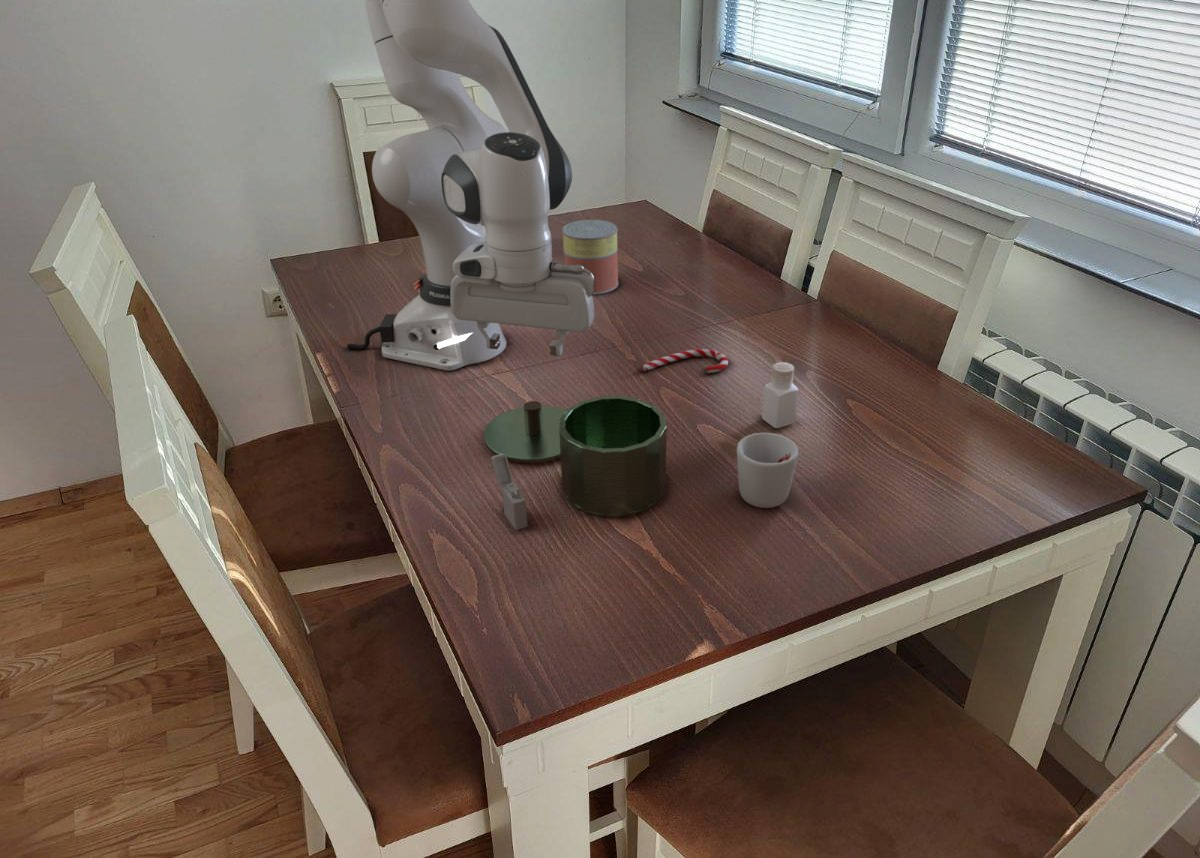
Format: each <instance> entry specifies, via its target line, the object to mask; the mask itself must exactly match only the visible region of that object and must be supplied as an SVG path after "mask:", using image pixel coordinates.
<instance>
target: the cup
mask: <svg viewBox="0 0 1200 858" xmlns="http://www.w3.org/2000/svg"><path fill="white" fill-rule="evenodd" d="M736 445H737V446H736V463H737V464H736V465H737V480H738V491H739V495H740V496H741V498H742V500H743V501H745V502H746V503H747V504H749V505H751V506H753V507H756V508H760V509H772V508H775V507H776V508H777V507H779V506H781V505H782V504H783V503H784V502H785V501H786V500H787V499H788V497H789V495H790V491H791V487H792V484H793V483H792V482H793V478H794V474H795V470H796V466H797V461H798V457H799V449H798V446H797V445H796V443H795V442H794V441H792V439H790V438H788V437H786V436H784V435H782V434H777V433H773V432H756V433H752V434H748V435H745V436H744V437H742V438H741V439H740V440H739V442H738V443H737V444H736Z"/></svg>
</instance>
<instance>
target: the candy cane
mask: <svg viewBox="0 0 1200 858" xmlns="http://www.w3.org/2000/svg"><path fill="white" fill-rule="evenodd" d="M700 357H703V358H704V357H705V358H712V359H715V360H717V361H719V364H715V365H711V366H706V367H705V369H706V370H705V371H706V372H705V373H706V374H715V373H718V372H721V371H723V370H725V369H726V368H727V366H728V364H729V360H728V358H727V356H726V355H725V354H724V353H722V352H719V351H716V350H712V349H703V348H699V349H698V348H696V349H689V350H683V351H679V352H676V353H672V354H668V355H665V356H662V357H660V358H657V359H653V360H652V361H648V362H646V363H644V364H642V365H641V370H642V371H643V372H648V371H651V370H654V369H656V368H659V367H661V366H664V365H667V364H671V363H674V362H678V361H681V360H686V359H691V358H700Z"/></svg>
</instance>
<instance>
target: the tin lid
mask: <svg viewBox="0 0 1200 858" xmlns="http://www.w3.org/2000/svg"><path fill="white" fill-rule="evenodd" d="M566 410H567V409H565V408H562V407H557V406H552V405H542V403H541V402H539V401H536V400H530V401H527V402H525V403H523V406H521V407H516V408H512V409H509V410H507V411H505V412H502V413H500V414H498V415H497V416H495V417H493V418H492V419H491V420H490V421H489V422H488V424H487V425H486V426H485V428H484V431H483V442H484V445H485V447H486V448H487V449H488V451H490V452H491V453H492V454H494V456H495V455H499V454H505V455H506V456H507V460H508V461H511V462H517V463H542V462H548V461H552V460H557V459H561V454H560V437H559V419H560V418H561V416H562V415H563V414H564V413H565V411H566Z"/></svg>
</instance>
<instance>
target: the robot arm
mask: <svg viewBox="0 0 1200 858" xmlns="http://www.w3.org/2000/svg"><path fill="white" fill-rule="evenodd" d="M364 4H365V12H366V14H367V15H366V16H367V21H368V25H369V29H370V34H371V36H372V37H371V38H372V41H373V44H374V47H375V51H376V54H377V58H378V61H379V64H380V68H381V71H382V74H383V78H384V80H385V84H386V87H387V90H388V92H389V93H390V95H391V96H392V98H393V99H394V100H395V101H396V102H398V103H400V104H402V105H404V106H406V107H409V108H412V109H414V110H415V112H417V113H418V114H419V115H420V116H421V118H422V119H423V121H424V122H425V123H426V125H427V127H428V129H425V130H422V131H421V130H420V131H417V132H412V133H409V134H405V135H401V136H399V137H397V138H395V139H393V140H391V141H389V142H388V143H385V144H384V145H382V146H380V147H379V148H378V149H377V150H376V151H375V153H374V155H373V159H372V164H371V175H372V180H373V183H374V186H375V188H376V190H377V193H379V195H380V196H381V197H382V198H383V199H384V201H386V202H387V203H388V204H390V206H393V207H395V208H396V209H398V210H400V211H402V213H404V214H405V215H406V216H407V217H408V218H409V219H410V221H411V222H412V224H413V225H414V228H415V229H416V231H417V234H418V237H419V240H420V244H421V245H420V246H421V249H422V254H423V260H424V261H423V262H424V266H425V269H424V270H423V274H422V275H420V276H419V277H418V279H417V281H416V282H415V283H414V285H413V286H414V291H416V292H417V290H419V293H418V295H416V296H415V297H414V298H413V299H412V300H410V301H408V303H407V304H406V305H405V306H403V307H402V308H401V309H400V310H399V312H397V313H386V314H385V315H384V317H383V319H382V321H381V323H380V325H379V326H378V327H375V328H372V329H371V330H369V331H368V332H367V333H365V336H364V343H362V344H356V343H347V345H346V346H347V349H351V350H359V351H360V350H361V351H362V350H364V349H365V350H366V349H367V348H368V347H369V346H370V343H371V337H372V336H373V335H376V334H377V333H379V335H380V341H381V343H382V346H381V356H382V357H383V358H386V359H390V360H395V361H400V362H405V363H410V364H413V365H419V366H423V367H428V368H432V369H438V370H442V371H447V372H448V371H449V372H451V371H455V370H458V369H460V368H462V367H465V366H470V365H474V364H479V363H482V362H486V361H488V360H492V359H493V358H496V357H497V356H499V355H501V354H502V353H503V352H504V350H505V349H506V348H507V344H508V343H507V340H506V337H505V335H504V332H503V330H502V327H501V325H510V326H519V327H528V328H537V329H538V328H539V329H547V330H555V331H556V336H557V337H559V338H558V339H552V341H551V342H550V344H549V355H550V356H554V357H561V356H562V354H563V351H564V341H565V339H566V338H567V336H568V335H569V333H570V332H575V333H585V332H587V330H589V328H591V327H592V325H593V324H594V320H595V317H596V316H595V315H596V313H595V303H594V297H593V296H594V295H592V294H593V292H594V276H593V274H592V273H591V272H590V271H589V270H587V269H585V268H584V266H581V265H568V264H564V263H563V262H562V263H561V262H553V247H552V244H553V243H552V234H551V229H550V227H549V221H548V220H549V218H548V217H549V213H550V210H551V211H552V210H556V209H557V208H558V207H559V206H560V205H561V203H562V202H564V199H565V198H566V196H567V194H568V193H569V191H570V188H571V185H572V182H573V169H572V165H571V162H570V159H569V157H568V155H567V153H566V151H565V150H564V148H563V147H562V145H561V144H560V142H559V141H558V139H557V138H556V137H555V135H554V133H553V131H552V130H551V129H550V126H549V125H548V123H547V121H546V119H545V117H544V115H543V113H542V110H541V109H540V107H539V105H538V103H537V101H536V99H535V96H534V95H533V92H532V90H531V88H530V87H529V84H528V82H527V80H526V78H525V76H524V74H523V72H522V70H521V68H520V66H519V64H518V61H517V59H516V58H515V56H514V54H513V52H512V50H511V48H510V47H509V44H508V43H507V41H506V39H505V38H504V37H503V35H502V34H501V32H500V31H499V30H498V29H496V28H495V27H493V26H491V25H490V24H488V23H487V22H486V21H485V20H484V19H483V18H482V17H481V16H480V15H479V14H478V12H477V11H476V10H475V8H474V6H473V5H472V4H471V2H470V1H469V0H364ZM460 76H463V77H466V78H468V79H470V80H473V81H474V82H476V83H478V84H479V85H480V86H482V87H483V88H484V89H485V90H486V91H487V92H488V93H489V95H490V96H491V98H492V100H493V102H494V104H495V106H496V108H497V110H498V112H499V114H500V116H501V118H502V120H503V122H504V124H505V126H506V128H507V129H506V128H505V126H503V124H501V123H500V122H498V121H497V120H495V119H493V118H491V117H490V116H489V115H487V114H486V112H484V111H483V110H482V109H481V108H480V107H479V106H478V105H477V104H476V103H475V102H474V100H473V99H472V97H471V96H470V94H469V93H468V91H467V90H466V88H465V86H464V84H463V82H462V80H461V77H460ZM483 226H484V227H485V229H486V231H485V229H484V227H483ZM583 272H586V273H583Z"/></svg>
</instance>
